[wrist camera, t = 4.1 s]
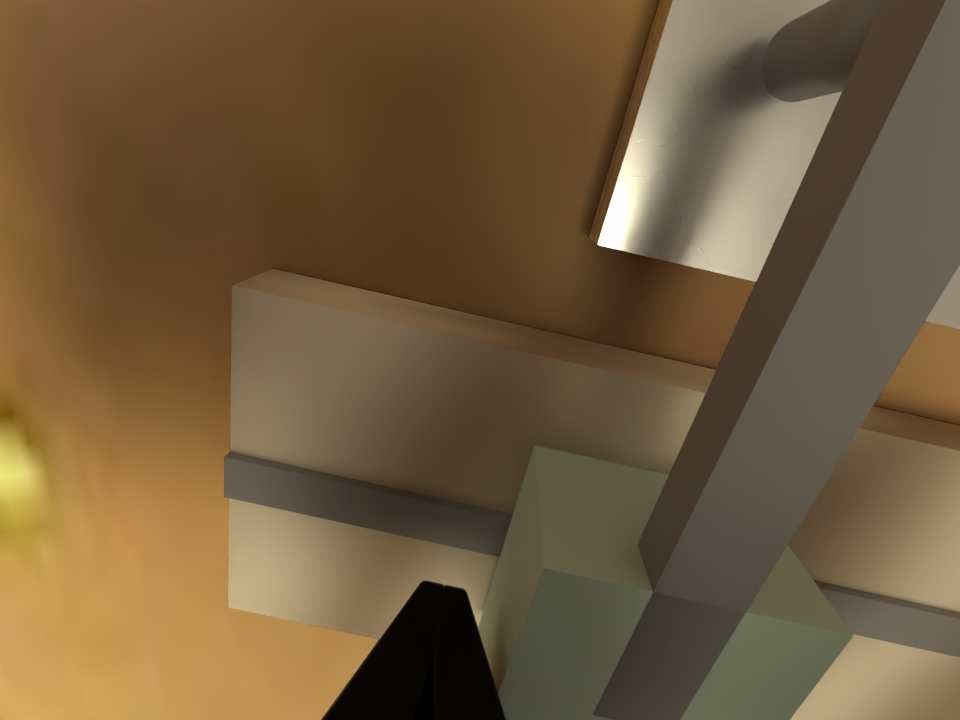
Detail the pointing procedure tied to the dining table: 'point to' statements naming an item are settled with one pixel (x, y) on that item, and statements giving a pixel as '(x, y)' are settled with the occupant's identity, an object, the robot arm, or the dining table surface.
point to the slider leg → (750, 416)
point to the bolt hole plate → (715, 144)
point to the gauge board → (502, 467)
